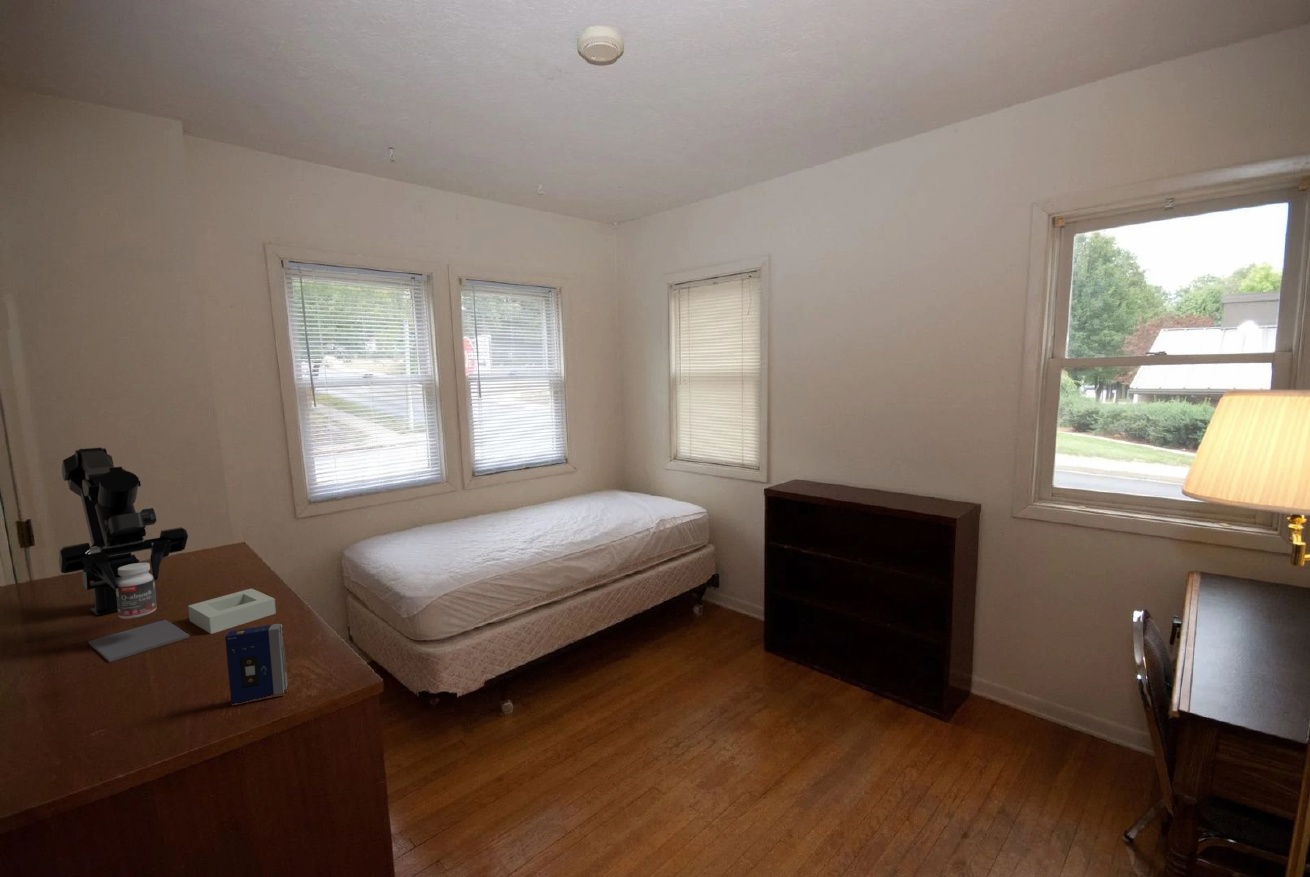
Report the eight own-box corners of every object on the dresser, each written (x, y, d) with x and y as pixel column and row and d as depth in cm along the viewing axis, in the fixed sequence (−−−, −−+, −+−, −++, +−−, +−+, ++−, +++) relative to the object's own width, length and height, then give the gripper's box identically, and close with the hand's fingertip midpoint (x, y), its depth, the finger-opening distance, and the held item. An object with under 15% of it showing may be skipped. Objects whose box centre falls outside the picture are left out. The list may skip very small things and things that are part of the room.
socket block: (189, 621, 120) (188, 605, 120) (252, 602, 130) (251, 588, 130) (211, 634, 114) (209, 617, 114) (275, 613, 124) (274, 598, 124)
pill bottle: (121, 622, 107) (116, 573, 106) (116, 614, 111) (110, 567, 109) (160, 612, 112) (155, 565, 110) (153, 605, 115) (149, 559, 114)
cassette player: (230, 707, 88) (224, 635, 86) (235, 699, 90) (228, 629, 89) (285, 696, 91) (279, 626, 89) (288, 689, 93) (282, 621, 92)
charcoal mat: (88, 643, 110) (88, 641, 110) (165, 621, 120) (165, 619, 120) (109, 662, 103) (108, 659, 102) (189, 637, 113) (189, 634, 112)
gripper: (54, 506, 103) (70, 575, 98) (181, 490, 118) (201, 549, 113) (53, 539, 109) (68, 606, 104) (174, 520, 124) (193, 578, 119)
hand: (136, 583), depth 110 cm, fingers closed on pill bottle, 6 cm apart
